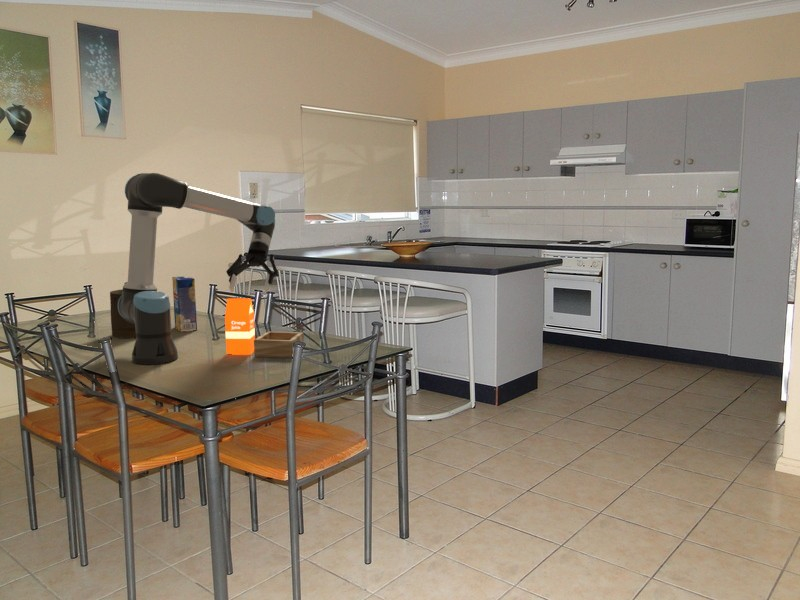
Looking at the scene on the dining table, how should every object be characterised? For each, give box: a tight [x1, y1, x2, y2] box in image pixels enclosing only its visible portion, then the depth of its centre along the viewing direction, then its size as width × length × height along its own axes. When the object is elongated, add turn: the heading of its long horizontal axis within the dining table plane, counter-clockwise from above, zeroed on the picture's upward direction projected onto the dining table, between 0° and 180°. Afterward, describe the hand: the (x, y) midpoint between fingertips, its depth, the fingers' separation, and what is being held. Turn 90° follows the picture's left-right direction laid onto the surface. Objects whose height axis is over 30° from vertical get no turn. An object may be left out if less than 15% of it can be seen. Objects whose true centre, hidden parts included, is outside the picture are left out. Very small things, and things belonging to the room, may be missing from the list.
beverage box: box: [171, 275, 198, 333], centre depth 287 cm, size 7×11×22 cm, turn 30°
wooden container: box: [109, 281, 136, 339], centre depth 275 cm, size 15×15×22 cm
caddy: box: [253, 330, 305, 359], centre depth 246 cm, size 15×14×6 cm
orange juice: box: [224, 297, 256, 356], centre depth 244 cm, size 8×9×20 cm
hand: (248, 290), depth 254 cm, fingers open, 13 cm apart
